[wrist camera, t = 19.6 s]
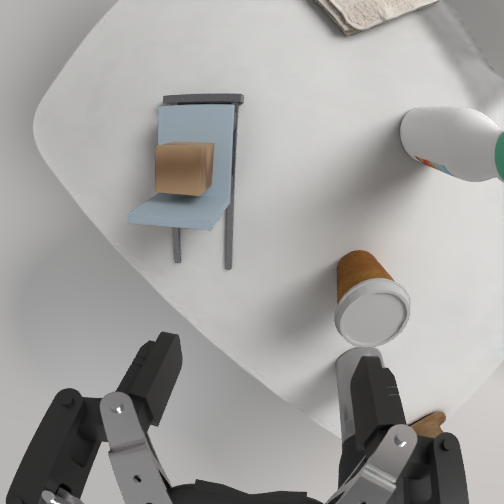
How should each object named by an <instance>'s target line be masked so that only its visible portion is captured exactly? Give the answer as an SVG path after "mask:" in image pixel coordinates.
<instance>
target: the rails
mask: <svg viewBox="0 0 504 504" xmlns="http://www.w3.org/2000/svg"><path fill="white" fill-rule="evenodd" d="M199 102H232V105H235V107H234V112H236V116H237V122H236V129H235V131H233V146H232V168H231V175H233V178H234V185H233V191H232V194H230V204H229V205H228V207H227V233H226V269H231V268H232V242H233V213H234V188H235V165H236V144H237V125H238V107H239V103H244V95H242V94H185V95H169V96H163V103H166V104H172V106H174V105H179V103H199ZM173 237H174V252H175V263H180V262H181V252H180V233H179V228H178V227H173Z"/></svg>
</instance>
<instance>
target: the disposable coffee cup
mask: <svg viewBox="0 0 504 504" xmlns="http://www.w3.org/2000/svg"><path fill="white" fill-rule="evenodd" d="M337 302H338V305H337V308H336V311H335V326H336V328H337V330H338V332H339V333H340V334H341V335H342V336H343V337H344V339H345V340H346V341H347V342H349V343H351V344H352V345H354V346H358V347H369V348H371V347H376V346H380V345H383V344H385V343H388V342H389V341H391V340H393V339H394V338H395V337H396V336H397V335H399V334H400V333H401V332H402V331H403V329H404V328H405V326H406V324H407V322H408V320H409V316H410V298H409V295H408V293H407V291H406V290H405V289H404V287H403V286H401V285H400V284H398V283H397V282H395V281H394V280H393V279H392V278H391V276H390V275H389V274H388V273H387V272H386V270H385V269H384V268H383V267H382V266H381V265H380V263H379V262H378V261H377V260H376V259H375V258H374V256H373V255H372V254H370V253H369V252H366V251H361V250H358V251H353V252H350V253H348V254H347V255H345V256H344V257H343V258H342V259H341V261H340V262H339V264H338V267H337Z"/></svg>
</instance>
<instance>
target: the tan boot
mask: <svg viewBox="0 0 504 504" xmlns="http://www.w3.org/2000/svg"><path fill="white" fill-rule="evenodd" d="M445 420H446V416H445V414H444V413H442V412H435V413H433V414H431V415H429V416H427V417H425V418H423V419H422V420H420V421H418V422H416V423H415V424H413V425H411V426H410V427H411V428H412V429H413V430H414V431H415V433H416V434H417V435H420V436H425V437H431V438H436V437H437V436H438V435H439V434H441V433H444V432H443V431H442V430H441V428H440V425H441V424H442V423H444V421H445Z"/></svg>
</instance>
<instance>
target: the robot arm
mask: <svg viewBox="0 0 504 504" xmlns="http://www.w3.org/2000/svg"><path fill="white" fill-rule="evenodd" d="M181 367H182V352H181V345H180V338H179V335H177V334H172V333H166V332H161V333H160V335H159V336H158V338H157V340H156V342H154V341H150V340H149V341H148V342H147V343H146V344H144V345H143V346H142V347H141V348H140V350H139V351H138V353H137V355H136V358H134V360H133V362H132V365H130V367H129V369H128V371H127V372H126V374H125V376H124V378H123V380H122V381H121V383H120V385H119V387H118V388H117V390H116V391H115V392H112V393H109V394H107V395H105V396H104V397H103V398H88V397H82V396H81V394H80V393H79V392H78V391H77V390H75V389H72V388H67V389H63V390H61V391H60V392H58V393H57V395H56V396H55V398H54V400H53V401H52V403H51V405H50V407H49V408H48V410H47V412H46V414H45V416H44V418H43V419H42V421H41V423H40V425H39V427H38V429H37V431H36V433H35V435H34V437H33V439H32V441H31V442H30V445H29V447H28V449H27V451H26V453H25V455H24V457H23V459H22V461H21V463H20V466H19V468H18V470H17V472H16V475H15V477H14V479H13V482H12V484H11V487H10V489H9V491H8V494H7V497H6V504H84V503H83V502H82V501H81V500H80V497H81V495H82V492H83V489H84V486H85V484H86V481H87V478H88V475H89V473H90V470H91V467H92V465H93V462H94V460H95V457H96V454H97V452H98V449H99V447H100V444H101V442H102V441H103V442H108V443H109V446H110V451H109V452H108V453H109V459H110V462H111V465H112V468H113V471H114V474H115V477H116V480H117V483H118V486H119V488H120V491H121V493H122V496H123V499H124V501H125V504H323V503H322V502H320V501H317V500H316V499H313V498H310V497H307V492H288V491H276V492H269V493H261V494H247V493H244V492H241V491H239V490H236V489H234V488H231V487H228V486H225V485H223V484H218V483H213V482H207V481H203V480H198V479H196V482H195V484H183V485H179V486H175V487H172V486H171V484H170V481H169V479H168V478H167V476H166V474H165V472H164V470H163V468H162V466H161V464H160V462H159V459H158V457H157V455H156V452H155V450H154V448H153V445H152V443H151V440H150V438H149V435H148V433H147V431H148V429H149V426H150V425H154V426H158V425H159V423H160V420H161V418H162V415H163V412H164V410H165V407H166V405H167V402H168V400H169V397H170V395H171V392H172V390H173V388H174V385H175V383H176V380H177V378H178V375H179V373H180V370H181ZM336 376H337V387H338V397H339V408H340V421H341V433H342V456H341V459H340V464H339V481H338V490H337V491H336V492H335V493H334V494H333V495H332V496H331V498H330V499H329V500H328V501H327V502H326V503H325V504H469V500H468V491H467V483H466V476H465V470H464V464H463V459H462V454H461V449H460V444H459V441H458V439H457V438H456V437H455V436H454V435H453V434H451V433H448V432H445V433H441V434H439V435H438V436H437V437H436V438H431V437H425V436H420V435H417V434H416V433H415V431H414V430H413V429H412V428H411V427H410V426H408V425H407V424H406V420H405V416H404V412H403V407H402V403H401V399H400V395H399V392H398V388H397V384H396V380H395V377H394V375H393V374H392V372H391V371H390V370H389V369H388V368H385V366H384V363H383V359H382V356H381V353H380V352H379V351H378V350H376V349H375V348H372V347H371V348H369V347H358V348H354V349H351V350H349V351H347V352H346V353H344V354H343V355H342V356H341V357H340V358H339V359H338V360H337V362H336Z"/></svg>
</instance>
